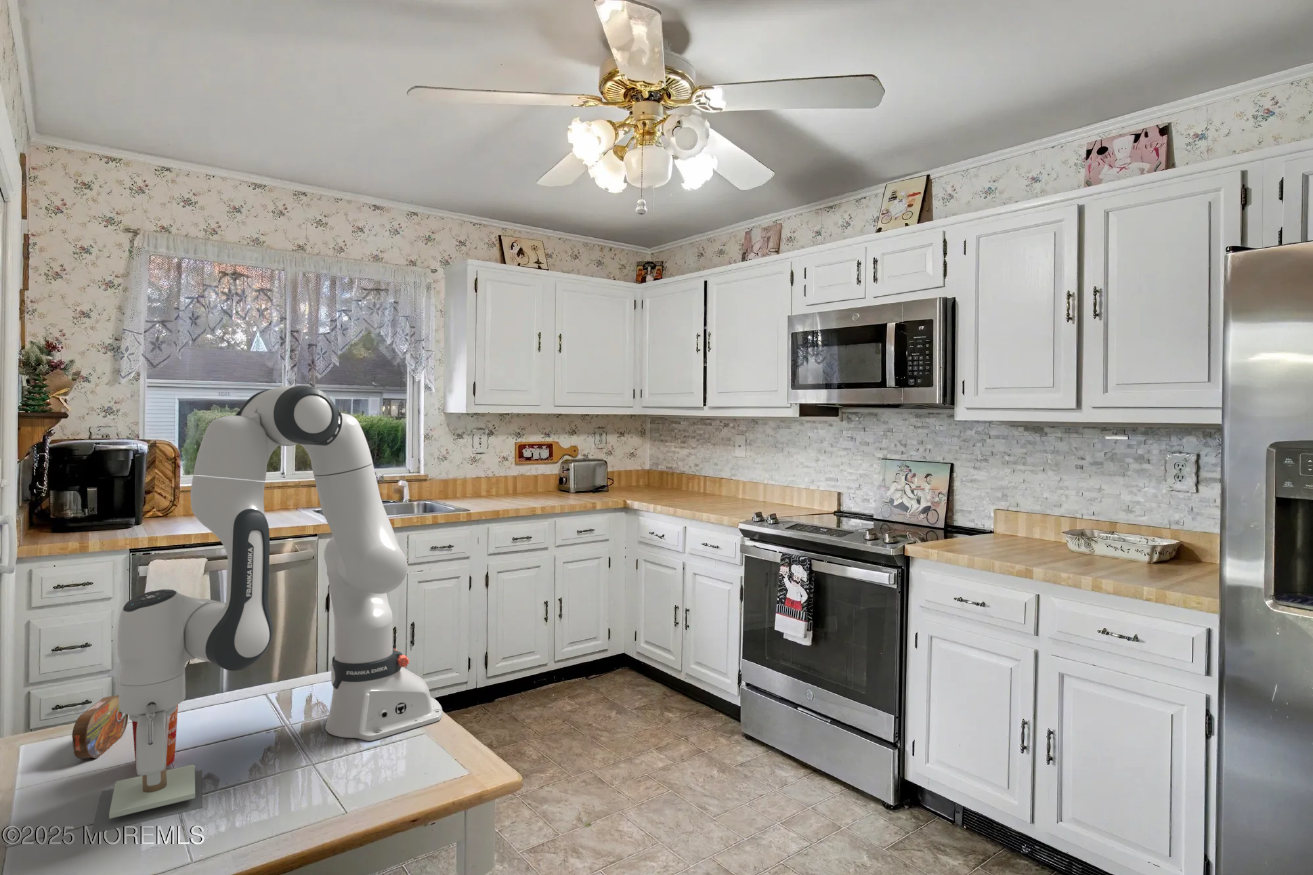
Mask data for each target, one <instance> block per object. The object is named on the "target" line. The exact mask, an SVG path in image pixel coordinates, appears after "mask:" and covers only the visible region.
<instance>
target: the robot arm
mask: <svg viewBox="0 0 1313 875" xmlns="http://www.w3.org/2000/svg"><path fill="white" fill-rule="evenodd" d="M362 428H363V427H361V424H360V422H359V421H358V419H357V418H355V416H353V415H351V414H349V413H348V414H347V413H342V412H340V411H339V410H338V408H337V407H336V404H335V402H334V401H333V400H332V399H331V397H329V395H328V394H326V393H325V392H324V391H322V390H320V389H319V388H316V387H313V386H310V385H284V386H283V385H281V386H277V387H274V388H271V389H264V390H261V391H259V392H256V393H255V394H253V395H251V396H250V397H249V398H248V399H247V400H246V401H245V402H244V403H243V405H242V407H241V408H240V409H239V411H238V412H236V414H235V415H225V416H221V417H217V418H216V419H214V420H212V421H211V422H210V423H209V424H208V425H207V427H206V429H205V432H204V434H203V437H202V440H201V443H200V446H199V448H198V452H197V456H196V459H195V463H194V469H193V475H192V480H191V487H190V507H191V511H192V514H193V515H194V517H195V518H196V519H197V521H198V522H200V523H201V525H202V526H204V527H205V528H206V529H208V530H209V531H210V532H212V533H213V534H214V536H216V538H218V540H219V541H220V543H221V544H222V545H223V547H224V549H225V552H226V556H227V570H226V571H227V574H226V575H227V576H226V597H225V599H226V601H225V602H223V601H219V600H213V599H207V598H197V597H191V596H188V595H184V594H182V593H179V592H178V591H177V590H174V589H169V588H168V589H165V588H163V589H157V590H151V591H148V592H143V593H140V594H138V595H136V596H135V597H132V598H131V599H130V600H128V601H126V603H125V604H124V606H123V607H122V609H121V612H120V614H119V619H118V626H117V657H118V658H119V661H120V672H119V675H118V683H117V684H118V695H119V710H120V712H122V713H124V714H128V720H130V721H131V722H132V721H135V722H138V723H137V729H136V761H135V767H136V774H137V776H143V775H147V785H148V786H152V785H157V784H159V783H160V781H161V771H163V770H164V769H165V767H166V768H167V766H166V756H167V742H168V729H169V720H170V715H171V714H172V713H174V712H175V711H176V709H177V705H178V706H179V705H180V704H182V703H183V701H184V700H185V699H186V664H187V662H189V661H192V660H194V659H197V660H199V661H203V662H204V661H205V662H208V663H211V664H213V665H215V666H217V667H219V668H221V669H224V670H226V671H231V672H233V671H234V672H237V671H241V670H242V671H243V670H245V669H247V668H249V667H252V666H253V665H254V664H255V663H257V662H258V661H259V660H260V659H261V658H262V657H263V656H264V655H265V654H266V653H267V651H268V649H269V648H270V646H271V643H272V640H273V637H274V624H273V619H272V616H271V612H270V605H269V604H270V602H269V589H270V588H269V587H270V586H269V584H270V583H269V582H270V556H271V555H270V552H271V551H270V550H271V549H270V548H271V544H270V538H271V537H270V526H269V523H268V521H267V517H266V512H265V498H264V497H265V485H266V478H267V469H268V467H267V466H268V464H269V460H270V458H271V455H272V454H273V452H274V451H275V450H276V449H277V448H278V447H279V446H281V447H293V446H297V445H300V446H302V447H303V449H304V450H305V451H306V454H308V458H309V459H310V463H311V470H312V473H313V474H312V475H313V479H314V482H315V487H316V491H317V495H318V500H319V504H320V508H321V512H322V515H323V516H324V519H325V520H326V522H327V524H328V527H329V529H330V532H331V535H332V537H331V538H330V539H329V540H328V542H327V543H326V545H325V548H324V552H323V558H324V561H325V566H326V569H327V578H328V579H327V580H328V584H329V593H330V599H331V605H332V611H333V620H334V621H333V622H334V627H333V628H334V630H333V631H334V655H333V657H332V658H331V659H332V660H331V667H330V668H331V676H330V677H331V678H330V679H331V680H330V681H331V685H332V695H331V703H330V709H329V713H328V717H327V720H326V723H325V727H324V728H325V730H326V732H328V734H330V735H332V736H335V737H339V738H350V739H354V738H355V739H360V740H364V741H370V742H372V741H376V740H378V739H383V738H385V737H388V736H389V737H390V736H391V735H392V736H393V735H395V734H398V733H403V732H406V731H408V730H413V729H416V728H418V727H422V726H425V725H429V724H432V723H435V722H438V721H440V720H441V719H442V718H443V707H442V705H441V704H440V703H439V701H438V700H436V698H433V697H432V696H431V693H430V689H429V686H428V684H427V683H426V681H425V680H424V679H423V678H422V677H420V676H419V675H417V674H416V673H414V672H412V671H410V670H409V669H407V668H406V667H407V666H408V665H409V664H410V659H409V658H408V657H407V656H406V654H405V655H404V654H403V653H402V652H400V651H398V650H397V649H396V648H394V644H393V642H394V641H393V640H394V637H393V636H394V630H393V629H394V624H393V623H394V615H393V614H394V613H393V611H392V608H391V605H390V601H389V597H388V594H387V593H391V592H392V591H394V590H396V589H397V588H398V587H399V586H400V585H402V583H403V582H404V580H405V579H406V576H407V573H408V560H407V557H406V555H405V554H404V552H403V551H402V548H401V547H400V544H399V542H398V540H397V537H396V534H395V531H394V528H393V526H392V523H391V521H390V518H389V517H388V514H387V511H386V509H385V506H384V503H383V501H382V498H381V497H382V496H381V495H380V494H381V492H380V489H379V486H378V485H379V484H378V480H377V475H376V471H375V466H374V462H373V458H372V454H371V450H370V448H369V444H368V440H367V438H366V436H365V434H364V431H363V429H362ZM433 706H434V707H433Z"/></svg>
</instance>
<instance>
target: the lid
mask: <svg viewBox="0 0 1313 875" xmlns="http://www.w3.org/2000/svg"><path fill="white" fill-rule="evenodd" d="M195 771H196V764H195V763H194V764H189V765H185V766H181V767H176V768H171V769H167V766H166V767H165V769H164V770H163V771H161V781H160V783H159V784H157V785H152V786H148V785H147V775H143V776H139V775H137V776H135V777H134V776H133V777H130V778H125V779H121V780H116V781H115V783H114V788H113V789H114V792H113V797H112V802H111V807H110V812H109V819H110V818H114V817H119V816H123V815H127V814H131V813H135V812H139V811H143V810H148V809H152V808H156V807H160V806H164V805H168V804H172V803H177V802H181V801H185V800H189V799H193V798H195Z"/></svg>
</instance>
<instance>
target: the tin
mask: <svg viewBox="0 0 1313 875" xmlns="http://www.w3.org/2000/svg"><path fill="white" fill-rule="evenodd" d="M128 722H129V714H124V713H122V712H120V710H119V694H117V695H110V696H105V697H102V698H101V699H99V701H96V703H95V704H93V705H92V706H91V707H89V708H88V709H86V710H85V711H84V712H83V713H82V714H80V716H79V717H78V718H77V719H76V722H75V723H74V726H73V727H72V728H73V729H72V731H71V732H72V733H71V738H72V748H73V755H74V756H75V757H76V758H77V759H79V760H86V759H98V758H100V757H101V756H102V755H103V754H104V753H105V752H106V751H108V750H109V749H110V748H111V747H112V746H113V745H114V744H115V743H116V742H118V741H119V740H120V739H121V738H122V737H123V736H124V733H125V731H126V728H127V726H128ZM100 755H101V756H100Z"/></svg>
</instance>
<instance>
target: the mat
mask: <svg viewBox="0 0 1313 875" xmlns="http://www.w3.org/2000/svg"><path fill="white" fill-rule="evenodd" d="M113 792H114V788H110V789H105V790H102V791H101V792H100V798H99V802H98V805H97V809H96V814H95V818H94V820H93V824H92V828H91V829H92V830H91V833H90V834H91V835H93V834H97V833H102V832H105V831H109V830H113V829H118V828H123V827H128V826H132V825H135V824H139V823H144V822H148V821H151V820H157V819H160V818H164V817H170V816H173V815H178V814H182V813H188V812H189V811H190V812H191V811H194V810H199V809H203V769H200V770H195V798H193V799H189V800H185V801H181V802H177V803H172V804H168V805H164V806H160V807H156V808H152V809H148V810H143V811H139V812H135V813H131V814H127V815H123V816H119V817H114V818H110V819H109V812H110V807H111V802H112V797H113Z"/></svg>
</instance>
